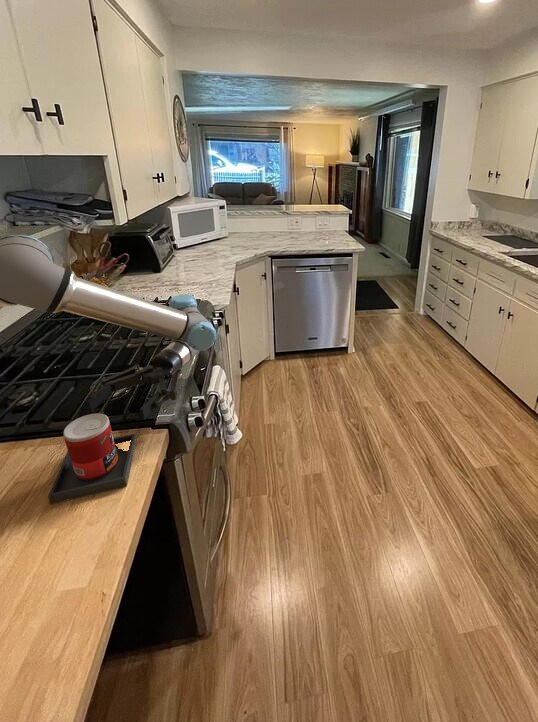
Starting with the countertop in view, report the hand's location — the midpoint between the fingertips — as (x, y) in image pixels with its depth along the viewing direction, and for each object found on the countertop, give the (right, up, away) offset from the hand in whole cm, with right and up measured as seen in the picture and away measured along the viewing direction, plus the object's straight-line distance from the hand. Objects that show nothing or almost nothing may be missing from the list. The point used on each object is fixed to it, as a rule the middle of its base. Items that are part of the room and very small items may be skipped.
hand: (114, 410), depth 80 cm
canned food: (-1, -11, -4) cm, 12 cm away
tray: (-1, -11, -4) cm, 12 cm away
